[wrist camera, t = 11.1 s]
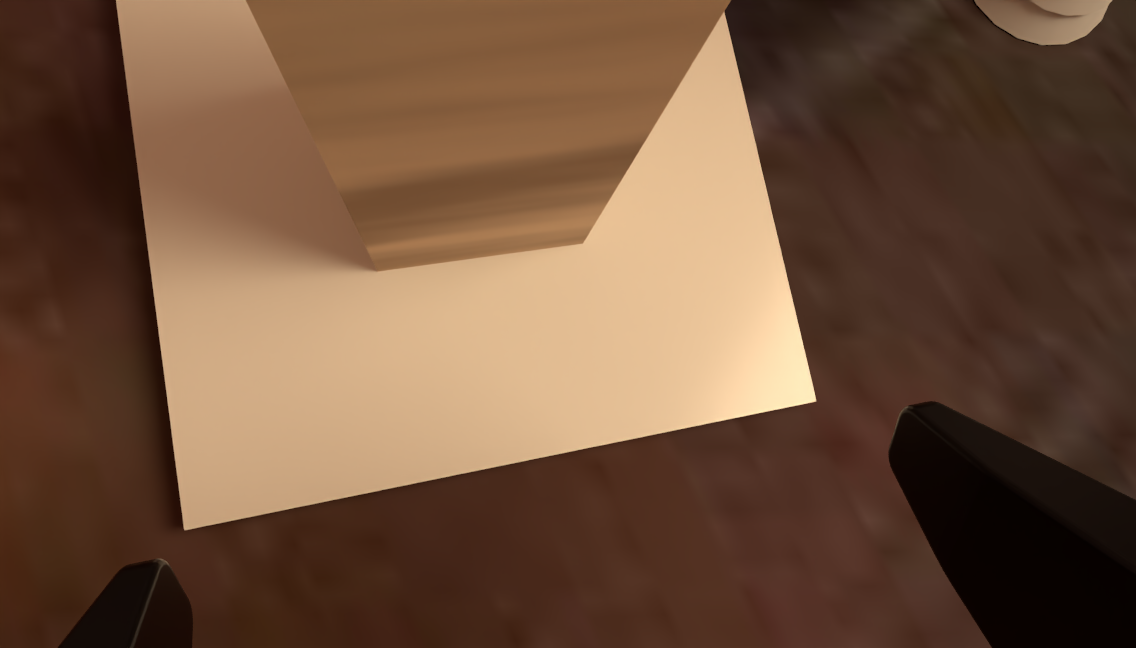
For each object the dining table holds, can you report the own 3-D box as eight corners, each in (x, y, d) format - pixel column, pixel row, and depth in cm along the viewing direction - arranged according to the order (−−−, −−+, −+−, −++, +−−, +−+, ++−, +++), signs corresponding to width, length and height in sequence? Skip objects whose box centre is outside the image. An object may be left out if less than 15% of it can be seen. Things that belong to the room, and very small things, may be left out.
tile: (802, 403, 20) (816, 401, 19) (196, 526, 17) (184, 530, 17) (680, -117, 22) (688, -138, 21) (118, -71, 19) (103, -93, 19)
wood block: (582, 243, 19) (833, -168, 6) (377, 271, 18) (180, -134, 5) (549, 55, 20) (712, -667, 7) (349, 74, 19) (114, -701, 6)
